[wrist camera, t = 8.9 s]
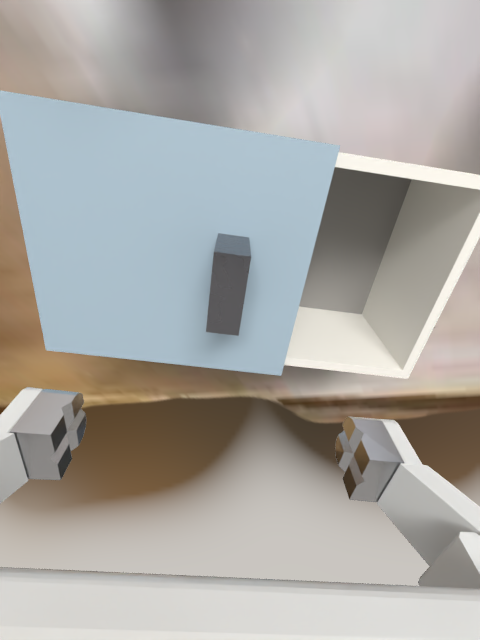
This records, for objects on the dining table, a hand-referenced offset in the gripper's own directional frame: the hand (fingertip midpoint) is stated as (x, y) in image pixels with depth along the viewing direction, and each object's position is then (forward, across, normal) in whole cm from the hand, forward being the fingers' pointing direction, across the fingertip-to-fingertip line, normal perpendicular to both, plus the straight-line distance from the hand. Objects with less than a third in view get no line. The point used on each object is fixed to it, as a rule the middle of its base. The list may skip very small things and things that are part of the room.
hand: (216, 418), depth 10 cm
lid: (+14, +4, 0) cm, 15 cm away
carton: (+25, -8, 0) cm, 26 cm away
